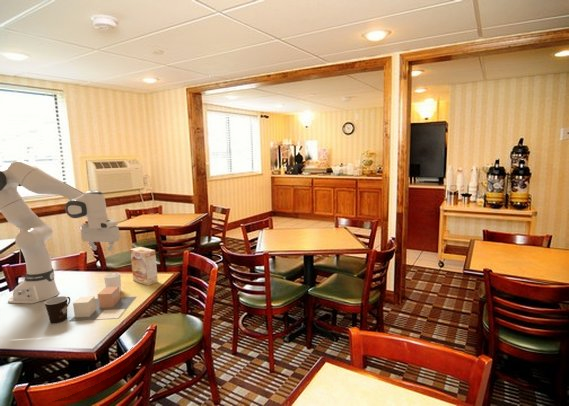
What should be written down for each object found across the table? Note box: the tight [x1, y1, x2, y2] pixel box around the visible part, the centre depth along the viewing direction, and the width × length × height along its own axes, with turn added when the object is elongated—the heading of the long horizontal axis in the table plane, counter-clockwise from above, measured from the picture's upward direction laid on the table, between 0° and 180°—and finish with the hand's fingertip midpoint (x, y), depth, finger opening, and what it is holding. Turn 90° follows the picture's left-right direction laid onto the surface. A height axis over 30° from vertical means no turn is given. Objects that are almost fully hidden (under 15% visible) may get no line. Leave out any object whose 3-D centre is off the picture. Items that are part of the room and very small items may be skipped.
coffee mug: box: [44, 295, 71, 325], centre depth 158 cm, size 12×9×10 cm
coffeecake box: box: [129, 246, 159, 286], centre depth 202 cm, size 15×7×20 cm, turn 55°
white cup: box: [103, 272, 122, 293], centre depth 187 cm, size 8×8×10 cm
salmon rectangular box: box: [97, 286, 121, 308], centre depth 173 cm, size 7×9×7 cm
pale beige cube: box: [72, 296, 96, 317], centre depth 162 cm, size 7×7×7 cm
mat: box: [69, 296, 137, 322], centre depth 168 cm, size 22×24×1 cm
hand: (102, 249), depth 172 cm, fingers open, 8 cm apart
